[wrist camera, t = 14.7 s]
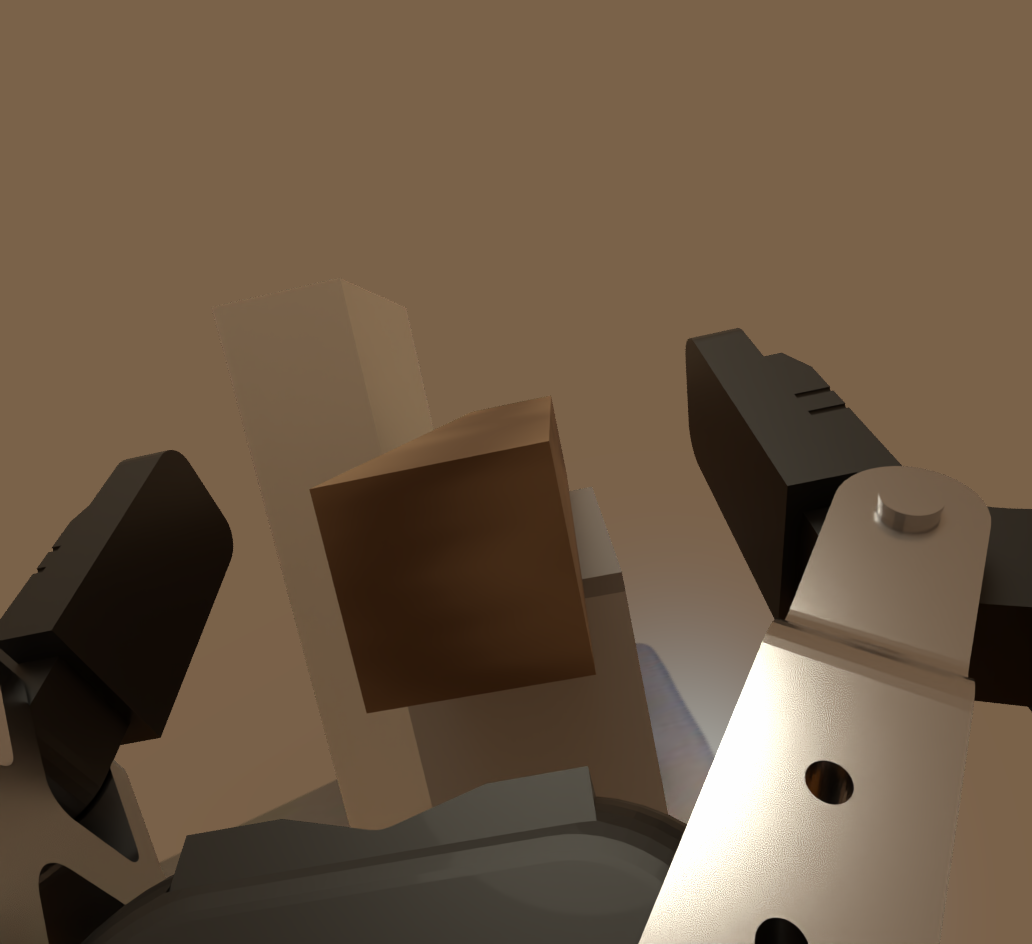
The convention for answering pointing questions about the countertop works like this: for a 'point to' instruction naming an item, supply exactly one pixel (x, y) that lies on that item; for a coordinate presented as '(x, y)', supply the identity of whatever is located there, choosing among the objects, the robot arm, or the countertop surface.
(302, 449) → the tall stand
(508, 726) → the grey pedestal
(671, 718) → the countertop surface
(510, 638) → the walnut bar
